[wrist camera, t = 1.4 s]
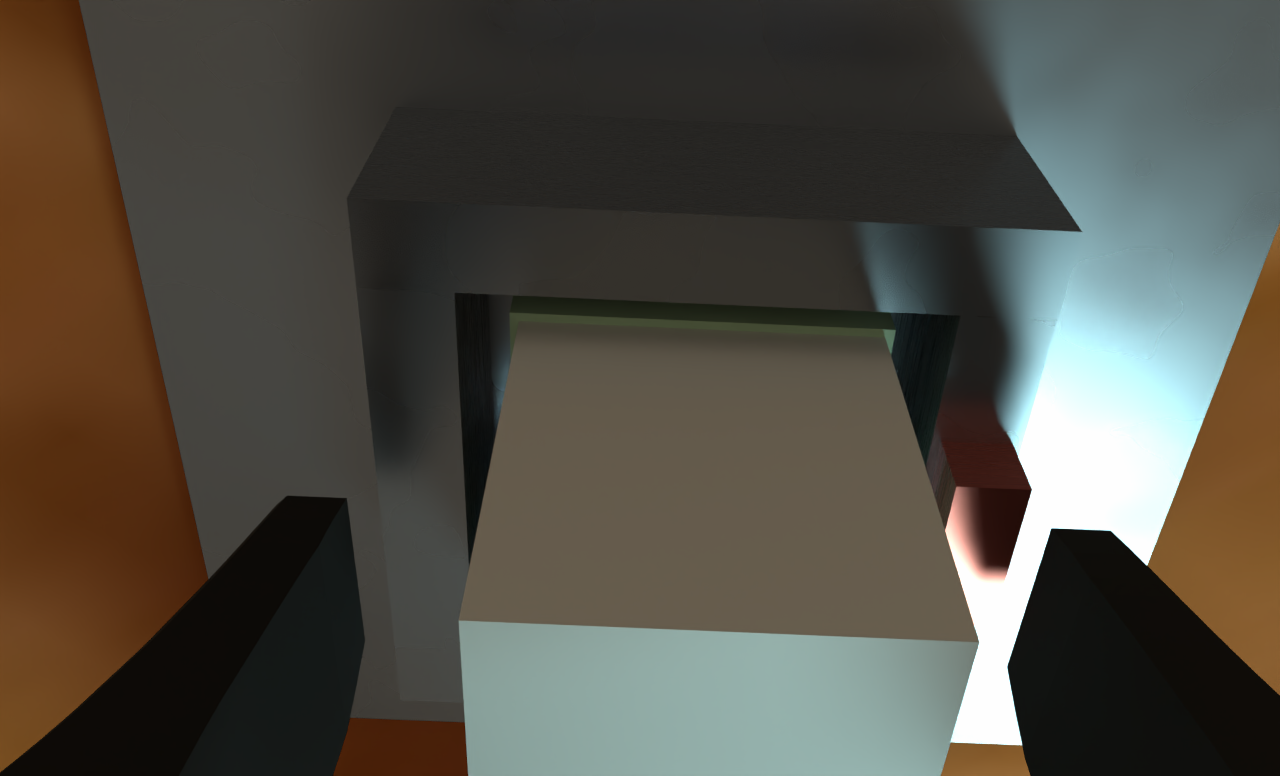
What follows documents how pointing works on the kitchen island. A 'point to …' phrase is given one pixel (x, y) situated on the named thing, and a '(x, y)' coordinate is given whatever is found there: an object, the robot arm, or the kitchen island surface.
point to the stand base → (687, 248)
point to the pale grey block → (708, 552)
